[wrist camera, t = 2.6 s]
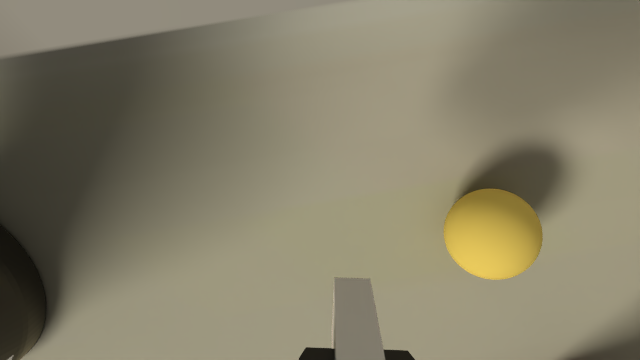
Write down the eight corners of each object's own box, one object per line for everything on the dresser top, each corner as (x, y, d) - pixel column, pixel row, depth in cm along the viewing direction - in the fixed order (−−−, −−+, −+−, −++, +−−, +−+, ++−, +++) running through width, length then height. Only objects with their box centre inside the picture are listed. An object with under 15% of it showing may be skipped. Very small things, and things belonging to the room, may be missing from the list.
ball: (429, 251, 27) (454, 296, 22) (438, 176, 26) (468, 206, 20) (507, 253, 27) (551, 300, 22) (522, 178, 26) (573, 209, 20)
